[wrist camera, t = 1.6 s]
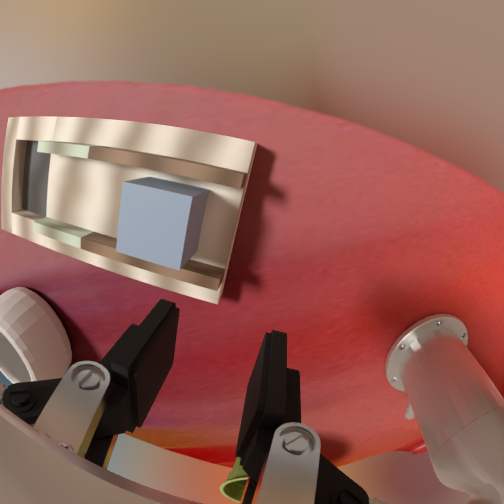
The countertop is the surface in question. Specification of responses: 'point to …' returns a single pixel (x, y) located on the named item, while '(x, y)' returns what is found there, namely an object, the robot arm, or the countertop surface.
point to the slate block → (160, 220)
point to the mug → (31, 338)
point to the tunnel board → (110, 190)
